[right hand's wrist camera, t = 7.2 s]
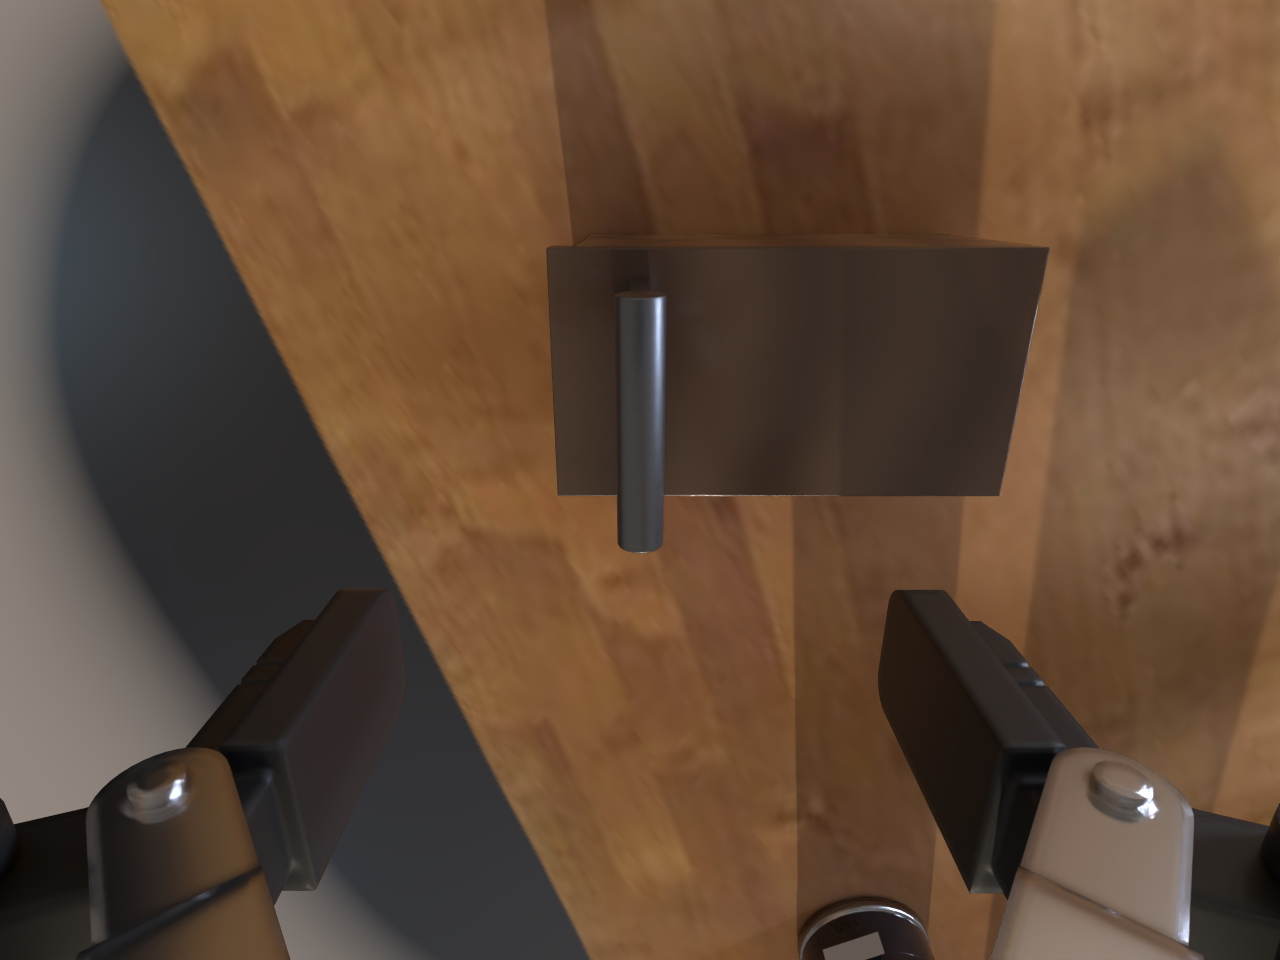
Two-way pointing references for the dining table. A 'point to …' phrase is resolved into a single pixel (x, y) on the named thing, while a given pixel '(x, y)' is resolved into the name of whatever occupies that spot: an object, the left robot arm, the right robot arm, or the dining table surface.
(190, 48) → the dining table surface
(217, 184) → the dining table surface
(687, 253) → the lid
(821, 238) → the chest
